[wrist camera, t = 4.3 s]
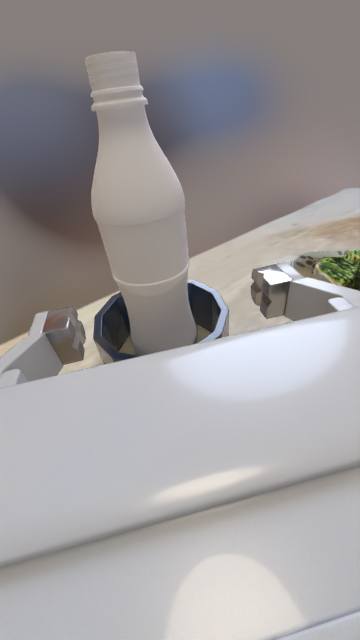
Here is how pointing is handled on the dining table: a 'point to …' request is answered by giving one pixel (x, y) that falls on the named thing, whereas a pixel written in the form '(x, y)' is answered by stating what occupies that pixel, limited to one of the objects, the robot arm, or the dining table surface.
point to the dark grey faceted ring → (116, 324)
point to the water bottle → (139, 209)
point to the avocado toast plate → (331, 267)
